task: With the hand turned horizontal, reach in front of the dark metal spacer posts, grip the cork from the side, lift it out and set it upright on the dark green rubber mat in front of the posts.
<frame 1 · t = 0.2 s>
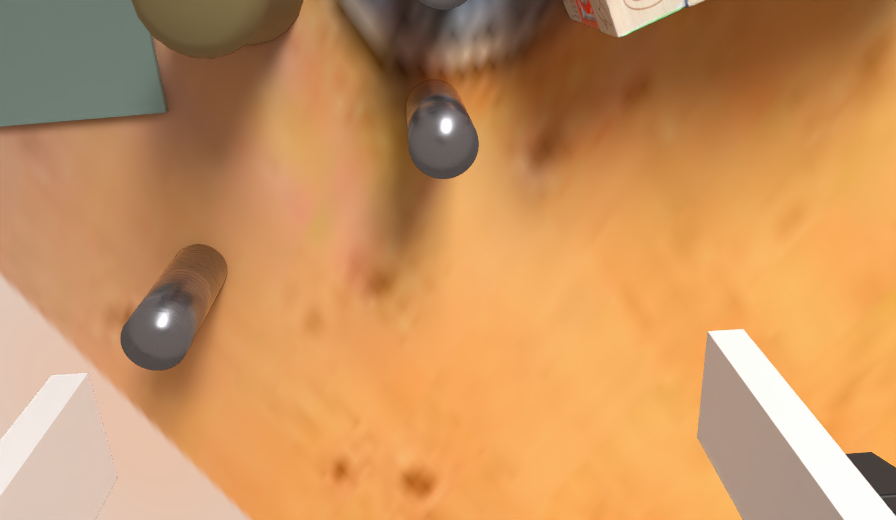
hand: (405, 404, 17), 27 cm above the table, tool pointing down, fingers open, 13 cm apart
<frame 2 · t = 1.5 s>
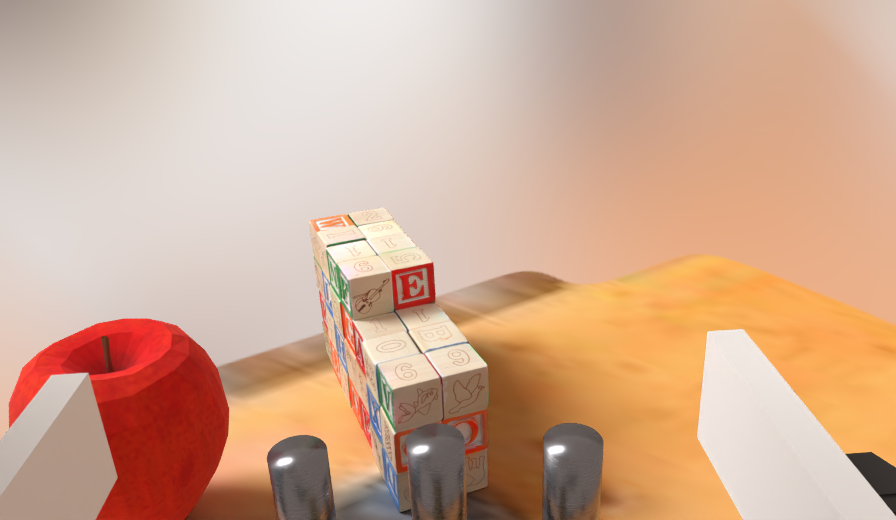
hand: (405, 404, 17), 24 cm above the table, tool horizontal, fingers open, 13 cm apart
stack of blocks: (396, 412, 58), on the table
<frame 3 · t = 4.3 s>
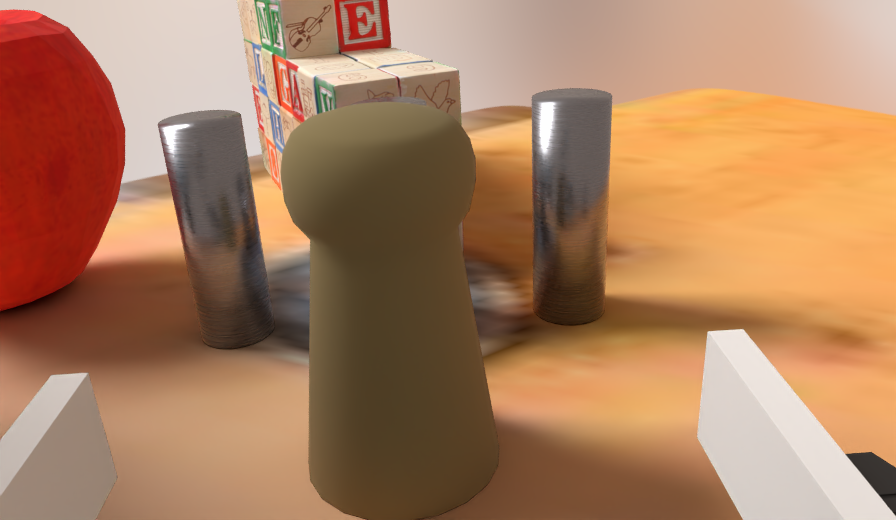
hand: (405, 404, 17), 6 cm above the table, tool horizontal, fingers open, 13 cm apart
stack of blocks: (348, 207, 47), on the table
cork: (404, 458, 24), on the table
apple: (28, 299, 37), on the table
spacer posts: (404, 336, 31), on the table
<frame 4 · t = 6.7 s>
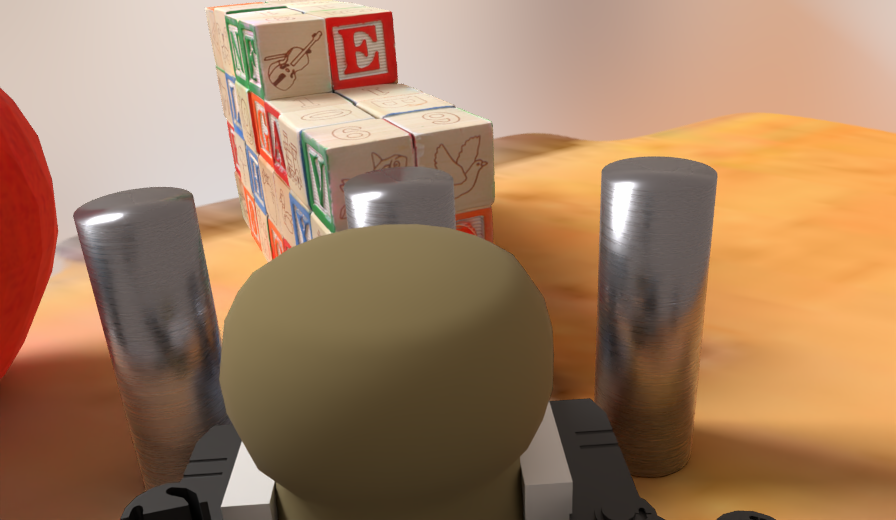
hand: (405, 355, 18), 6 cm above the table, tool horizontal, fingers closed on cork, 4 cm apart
stack of blocks: (344, 276, 38), on the table
spacer posts: (420, 493, 23), on the table
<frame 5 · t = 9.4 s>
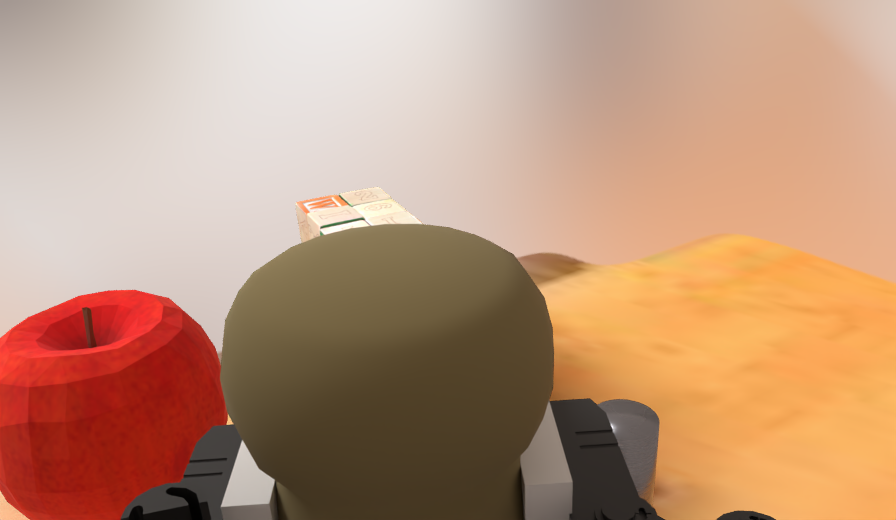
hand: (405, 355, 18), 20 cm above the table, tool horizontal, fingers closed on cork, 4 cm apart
stack of blocks: (404, 414, 51), on the table
when the fingers open (7 cm above the table, at t = 12.3 s): cork moves 5 cm, resting on mat.
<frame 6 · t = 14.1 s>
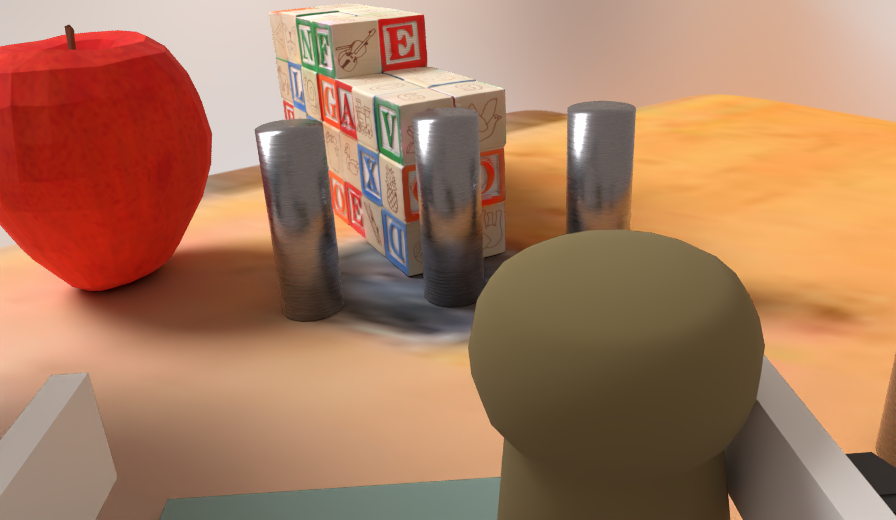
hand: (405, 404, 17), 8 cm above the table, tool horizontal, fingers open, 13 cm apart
stack of blocks: (384, 213, 51), on the table
apple: (125, 280, 42), on the table
spacer posts: (456, 311, 37), on the table
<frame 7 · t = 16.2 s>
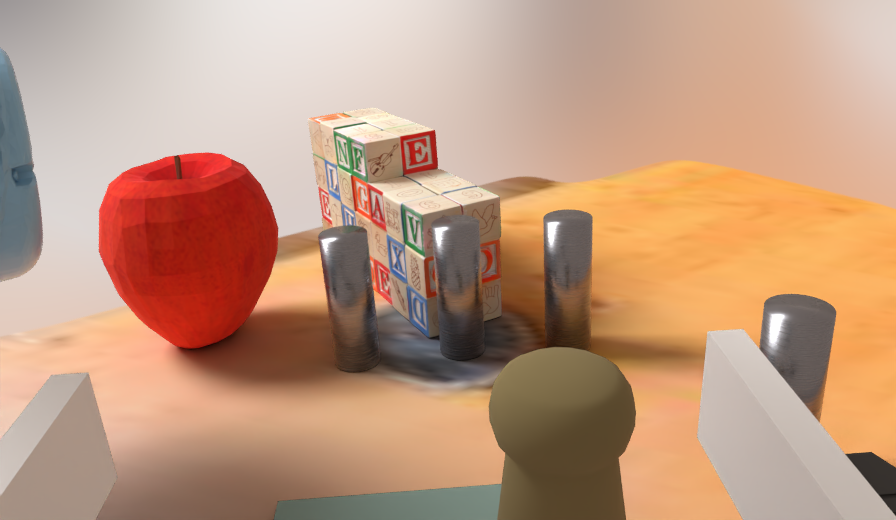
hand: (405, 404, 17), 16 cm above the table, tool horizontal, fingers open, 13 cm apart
stack of blocks: (404, 281, 63), on the table
apple: (210, 339, 56), on the table
spacer posts: (464, 363, 50), on the table
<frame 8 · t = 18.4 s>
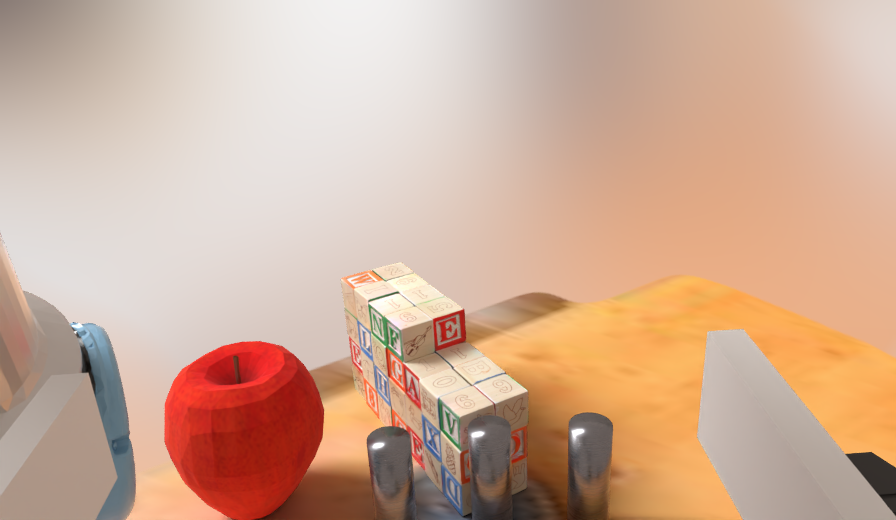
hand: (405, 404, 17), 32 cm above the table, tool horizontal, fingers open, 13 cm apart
stack of blocks: (432, 435, 68), on the table
apple: (260, 505, 61), on the table
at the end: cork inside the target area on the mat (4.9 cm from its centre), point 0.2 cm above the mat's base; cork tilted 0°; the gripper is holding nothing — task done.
